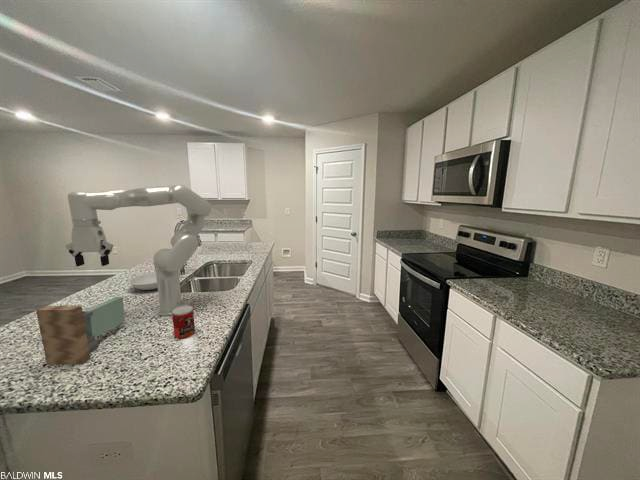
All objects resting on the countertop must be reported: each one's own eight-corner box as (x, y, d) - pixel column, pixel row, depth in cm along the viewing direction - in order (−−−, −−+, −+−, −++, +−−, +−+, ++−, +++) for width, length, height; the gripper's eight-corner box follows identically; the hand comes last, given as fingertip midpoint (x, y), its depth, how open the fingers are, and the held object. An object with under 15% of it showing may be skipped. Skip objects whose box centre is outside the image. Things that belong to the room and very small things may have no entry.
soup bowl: (150, 280, 169) (149, 271, 168) (182, 282, 166) (182, 272, 165) (117, 293, 146) (116, 283, 145) (154, 296, 143) (153, 285, 142)
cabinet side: (106, 346, 95) (99, 297, 91) (82, 364, 85) (73, 309, 82) (74, 347, 95) (66, 297, 91) (47, 364, 85) (35, 309, 81)
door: (127, 321, 110) (125, 296, 109) (82, 346, 89) (80, 316, 88) (115, 321, 110) (113, 296, 108) (68, 346, 89) (65, 316, 88)
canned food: (181, 341, 99) (178, 315, 97) (170, 335, 103) (167, 310, 101) (199, 332, 105) (197, 308, 104) (188, 327, 110) (186, 303, 108)
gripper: (115, 222, 102) (121, 262, 106) (71, 222, 101) (78, 263, 105) (101, 224, 95) (108, 267, 98) (53, 224, 94) (61, 268, 97)
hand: (93, 265), depth 101 cm, fingers open, 9 cm apart
